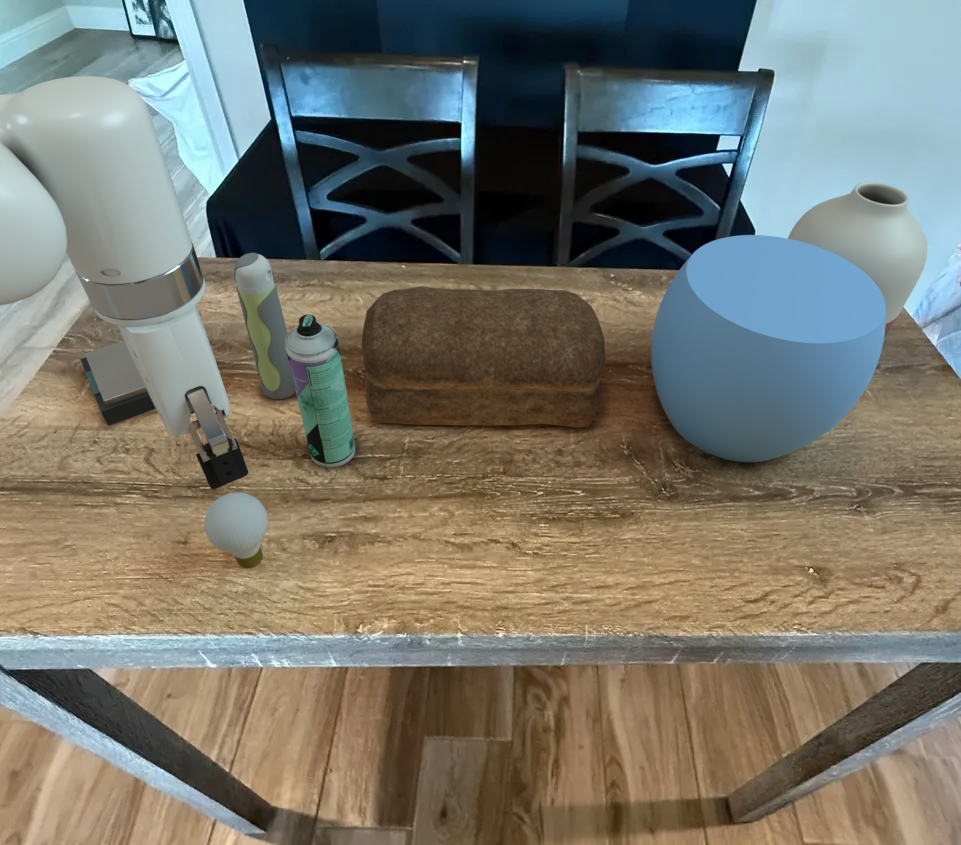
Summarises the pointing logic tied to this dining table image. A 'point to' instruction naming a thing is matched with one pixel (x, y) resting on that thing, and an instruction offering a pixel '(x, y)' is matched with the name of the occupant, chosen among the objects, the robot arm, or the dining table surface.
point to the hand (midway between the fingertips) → (210, 443)
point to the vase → (871, 239)
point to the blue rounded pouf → (764, 345)
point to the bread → (482, 357)
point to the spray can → (321, 391)
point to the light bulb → (237, 527)
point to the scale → (116, 383)
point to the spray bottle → (264, 324)
